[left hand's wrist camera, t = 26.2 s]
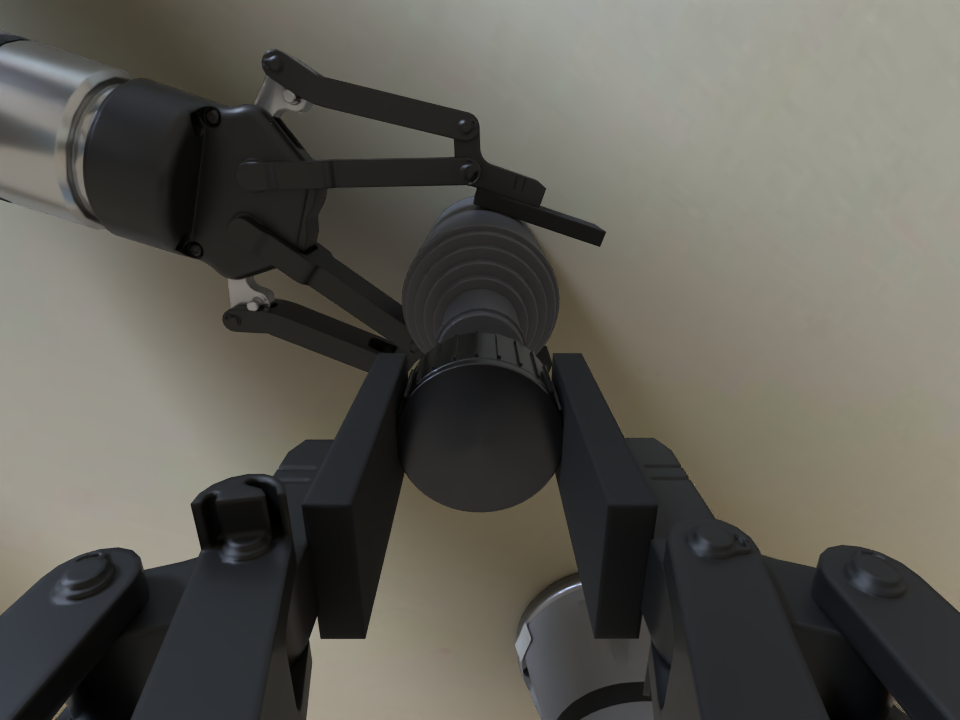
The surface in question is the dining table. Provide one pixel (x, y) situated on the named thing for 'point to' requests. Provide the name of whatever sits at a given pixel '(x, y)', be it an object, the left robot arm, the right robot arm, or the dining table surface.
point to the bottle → (480, 281)
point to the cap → (479, 423)
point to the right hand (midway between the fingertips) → (570, 300)
